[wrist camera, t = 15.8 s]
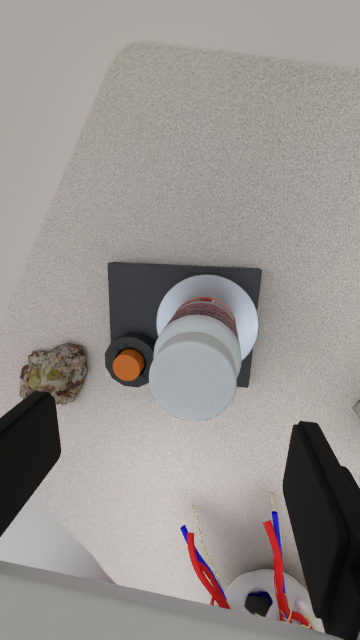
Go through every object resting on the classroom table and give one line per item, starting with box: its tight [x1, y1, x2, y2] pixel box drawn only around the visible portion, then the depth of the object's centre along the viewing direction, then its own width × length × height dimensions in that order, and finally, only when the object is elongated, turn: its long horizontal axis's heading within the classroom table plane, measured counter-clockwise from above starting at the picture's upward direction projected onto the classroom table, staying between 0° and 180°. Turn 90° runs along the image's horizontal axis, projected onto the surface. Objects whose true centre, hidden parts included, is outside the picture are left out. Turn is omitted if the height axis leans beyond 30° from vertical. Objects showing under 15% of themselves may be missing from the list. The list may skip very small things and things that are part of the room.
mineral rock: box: [20, 343, 87, 405], centre depth 34 cm, size 11×4×8 cm
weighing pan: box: [156, 274, 259, 361], centre depth 26 cm, size 10×10×1 cm
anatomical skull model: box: [181, 492, 325, 633], centre depth 30 cm, size 16×19×25 cm
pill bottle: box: [149, 297, 242, 421], centre depth 20 cm, size 6×6×11 cm
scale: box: [105, 262, 262, 388], centre depth 29 cm, size 16×14×4 cm
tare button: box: [113, 349, 145, 381], centre depth 28 cm, size 3×3×2 cm
